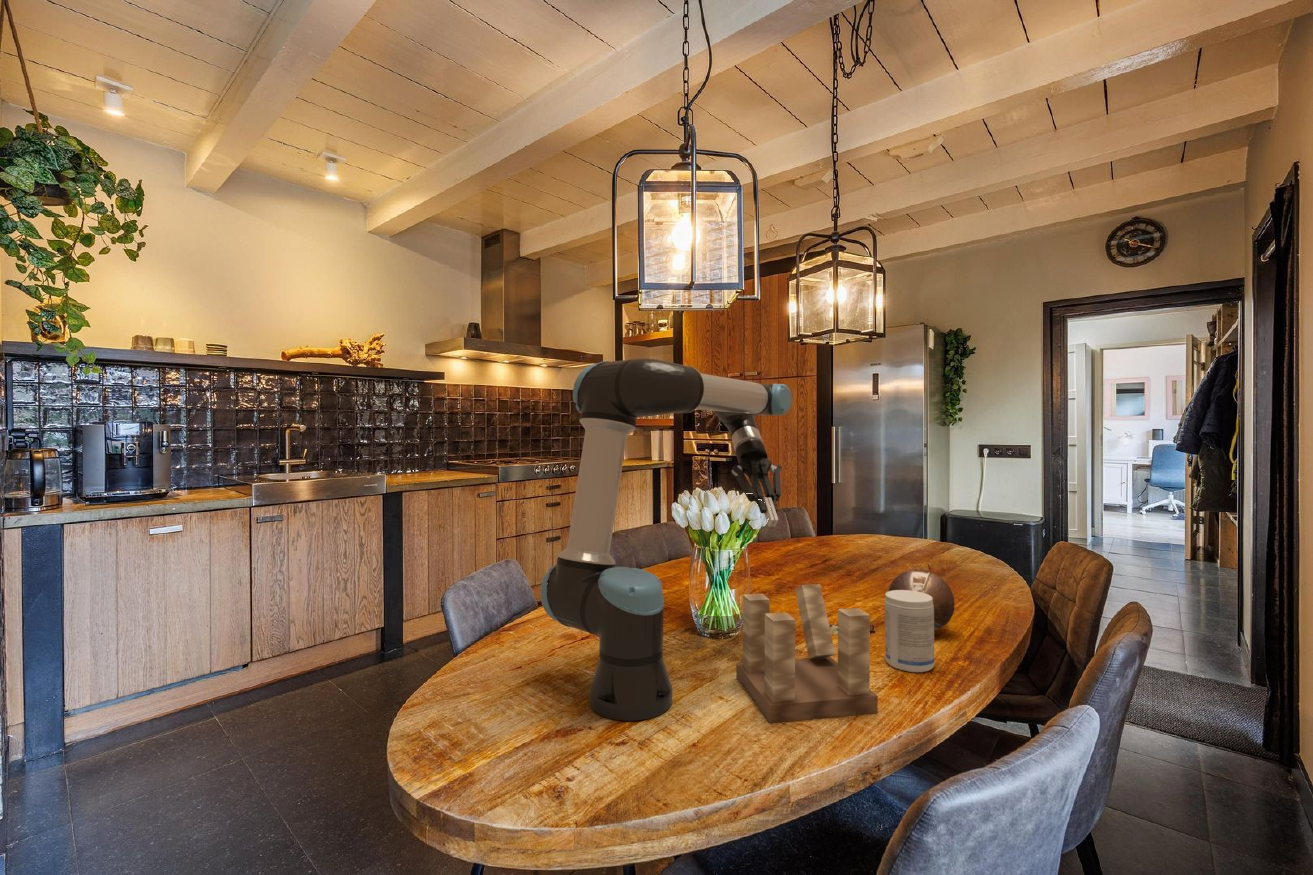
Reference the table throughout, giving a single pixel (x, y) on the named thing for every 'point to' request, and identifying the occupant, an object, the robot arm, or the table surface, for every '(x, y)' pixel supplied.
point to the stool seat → (804, 667)
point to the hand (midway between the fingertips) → (773, 523)
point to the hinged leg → (814, 621)
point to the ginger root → (835, 628)
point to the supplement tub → (909, 630)
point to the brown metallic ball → (928, 592)
